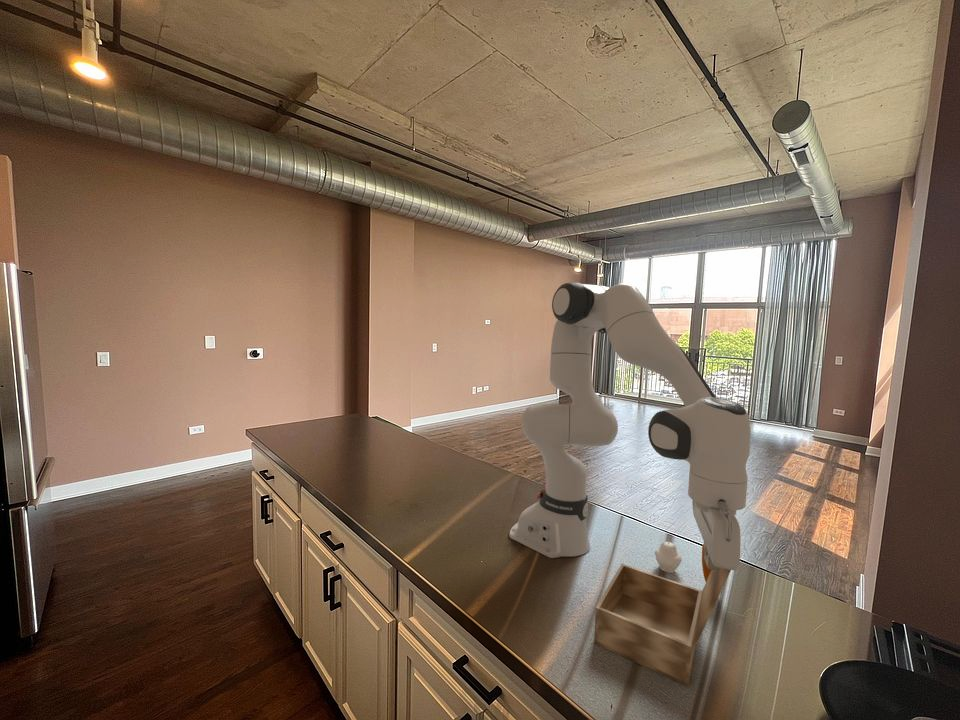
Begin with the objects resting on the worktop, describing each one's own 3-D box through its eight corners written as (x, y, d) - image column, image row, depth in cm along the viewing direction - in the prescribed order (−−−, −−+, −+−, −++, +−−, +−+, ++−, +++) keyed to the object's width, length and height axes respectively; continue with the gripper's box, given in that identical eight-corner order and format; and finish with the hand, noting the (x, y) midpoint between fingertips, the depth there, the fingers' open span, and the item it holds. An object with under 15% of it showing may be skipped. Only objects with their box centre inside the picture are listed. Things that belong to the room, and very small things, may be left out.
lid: (727, 566, 63) (732, 569, 62) (732, 524, 77) (736, 526, 77) (691, 644, 66) (696, 647, 66) (702, 590, 80) (706, 592, 80)
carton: (593, 643, 75) (595, 607, 75) (620, 593, 90) (621, 563, 90) (688, 687, 66) (691, 646, 66) (700, 624, 81) (702, 590, 81)
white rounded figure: (649, 568, 100) (651, 541, 100) (659, 559, 104) (661, 533, 104) (675, 579, 96) (677, 551, 95) (684, 569, 100) (686, 542, 100)
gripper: (755, 518, 60) (748, 606, 61) (723, 475, 79) (718, 542, 80) (707, 511, 62) (702, 596, 63) (688, 470, 81) (683, 536, 82)
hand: (711, 565), depth 71 cm, fingers closed
